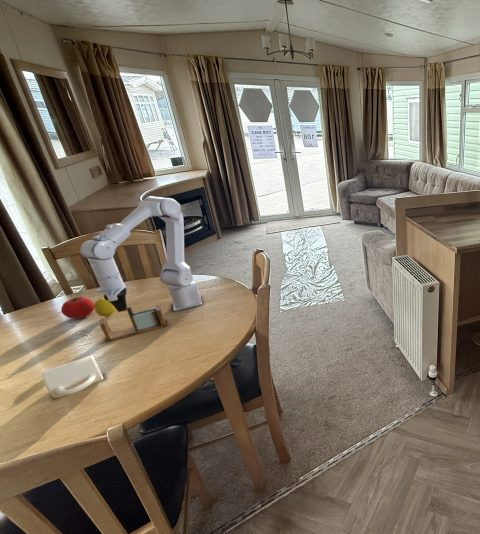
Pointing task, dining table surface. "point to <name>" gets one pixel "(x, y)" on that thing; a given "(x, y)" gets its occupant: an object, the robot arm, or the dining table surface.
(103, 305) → the lemon
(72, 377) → the white box with handle
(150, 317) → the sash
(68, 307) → the tomato
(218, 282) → the dining table surface
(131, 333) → the window frame
